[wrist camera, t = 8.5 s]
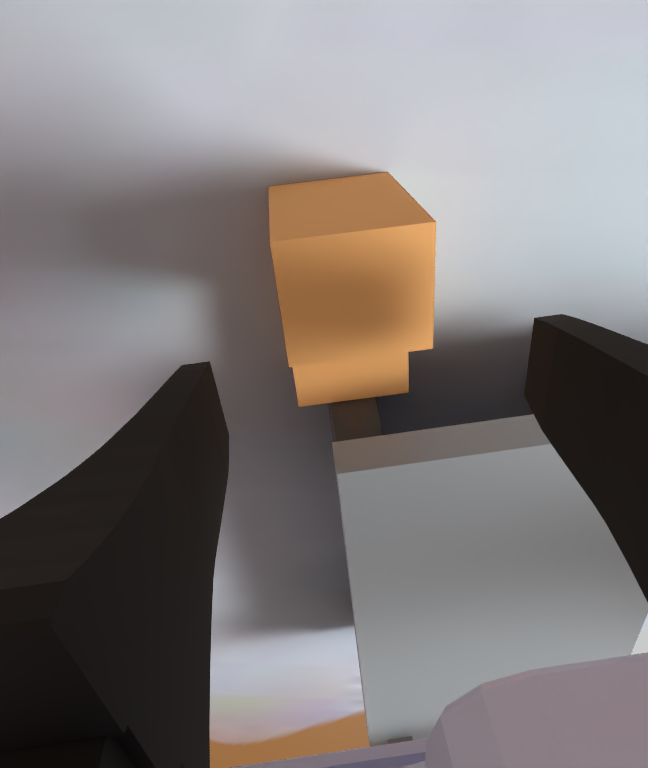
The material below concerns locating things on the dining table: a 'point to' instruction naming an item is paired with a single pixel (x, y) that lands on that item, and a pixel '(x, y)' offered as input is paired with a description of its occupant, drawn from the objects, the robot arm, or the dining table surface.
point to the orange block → (352, 284)
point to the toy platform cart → (469, 563)
